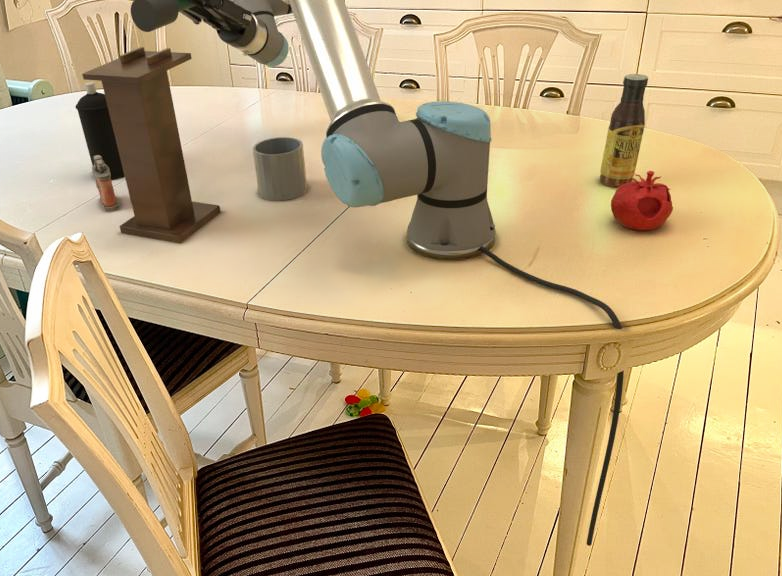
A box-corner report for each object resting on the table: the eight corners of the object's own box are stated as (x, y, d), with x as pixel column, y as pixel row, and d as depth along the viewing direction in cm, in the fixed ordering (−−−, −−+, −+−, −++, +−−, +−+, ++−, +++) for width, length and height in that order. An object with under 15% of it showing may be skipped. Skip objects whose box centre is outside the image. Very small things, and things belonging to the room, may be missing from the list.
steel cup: (315, 192, 151) (311, 147, 146) (270, 204, 148) (265, 159, 142) (293, 177, 159) (289, 133, 153) (251, 188, 155) (245, 144, 150)
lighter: (98, 198, 157) (86, 153, 151) (114, 195, 158) (103, 149, 152) (104, 212, 151) (91, 165, 145) (121, 209, 152) (109, 162, 146)
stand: (165, 202, 153) (131, 43, 135) (222, 211, 147) (194, 45, 129) (119, 234, 142) (75, 65, 124) (178, 244, 137) (141, 69, 118)
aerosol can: (121, 180, 165) (98, 88, 153) (87, 180, 166) (62, 89, 155) (136, 166, 171) (115, 77, 159) (103, 166, 173) (80, 78, 161)
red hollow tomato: (596, 221, 131) (603, 170, 126) (636, 205, 135) (645, 156, 129) (641, 241, 124) (651, 189, 119) (682, 224, 128) (694, 173, 122)
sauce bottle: (608, 190, 141) (625, 83, 130) (593, 178, 146) (608, 74, 135) (640, 185, 142) (660, 79, 130) (624, 173, 147) (642, 70, 135)
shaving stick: (189, 10, 141) (184, -22, 137) (213, 10, 138) (208, -22, 135) (134, 31, 129) (127, -3, 125) (159, 32, 126) (152, -2, 123)
